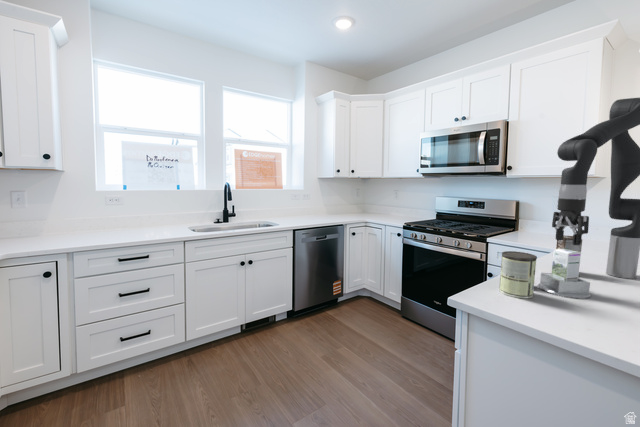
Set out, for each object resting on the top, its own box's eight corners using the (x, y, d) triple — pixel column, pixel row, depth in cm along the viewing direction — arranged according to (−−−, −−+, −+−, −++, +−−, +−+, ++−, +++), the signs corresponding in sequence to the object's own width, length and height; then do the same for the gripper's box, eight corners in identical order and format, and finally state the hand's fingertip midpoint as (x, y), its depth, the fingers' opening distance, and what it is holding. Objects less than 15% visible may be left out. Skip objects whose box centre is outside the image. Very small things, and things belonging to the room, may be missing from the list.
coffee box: (553, 269, 138) (556, 234, 136) (570, 270, 136) (574, 235, 134) (561, 274, 130) (564, 238, 128) (579, 276, 127) (583, 239, 126)
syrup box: (577, 291, 108) (582, 252, 106) (564, 292, 106) (568, 252, 105) (562, 286, 113) (566, 248, 112) (549, 287, 112) (553, 248, 110)
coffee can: (495, 286, 113) (498, 250, 112) (527, 290, 110) (531, 252, 108) (502, 296, 103) (505, 256, 102) (537, 300, 100) (541, 259, 99)
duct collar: (529, 282, 118) (530, 270, 117) (569, 284, 117) (571, 272, 116) (555, 297, 103) (556, 283, 103) (602, 299, 102) (604, 285, 101)
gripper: (547, 196, 114) (543, 238, 116) (575, 198, 100) (570, 246, 101) (568, 196, 113) (564, 238, 115) (600, 199, 99) (594, 247, 101)
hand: (567, 242), depth 108 cm, fingers open, 8 cm apart
